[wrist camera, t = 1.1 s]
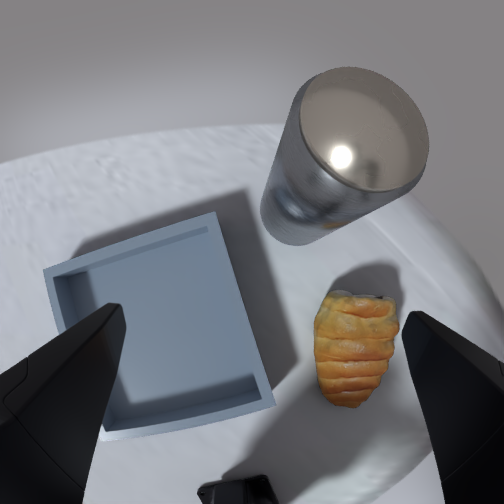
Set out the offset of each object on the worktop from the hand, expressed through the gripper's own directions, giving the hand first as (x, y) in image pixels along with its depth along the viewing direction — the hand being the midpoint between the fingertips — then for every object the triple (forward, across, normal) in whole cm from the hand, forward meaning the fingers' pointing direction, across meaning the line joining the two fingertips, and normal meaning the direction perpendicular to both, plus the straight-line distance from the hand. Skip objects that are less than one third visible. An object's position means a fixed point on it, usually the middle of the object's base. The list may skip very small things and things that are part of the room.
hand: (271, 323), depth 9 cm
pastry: (+11, -8, +11) cm, 18 cm away
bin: (+11, +7, +10) cm, 16 cm away
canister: (+16, -3, +2) cm, 16 cm away
